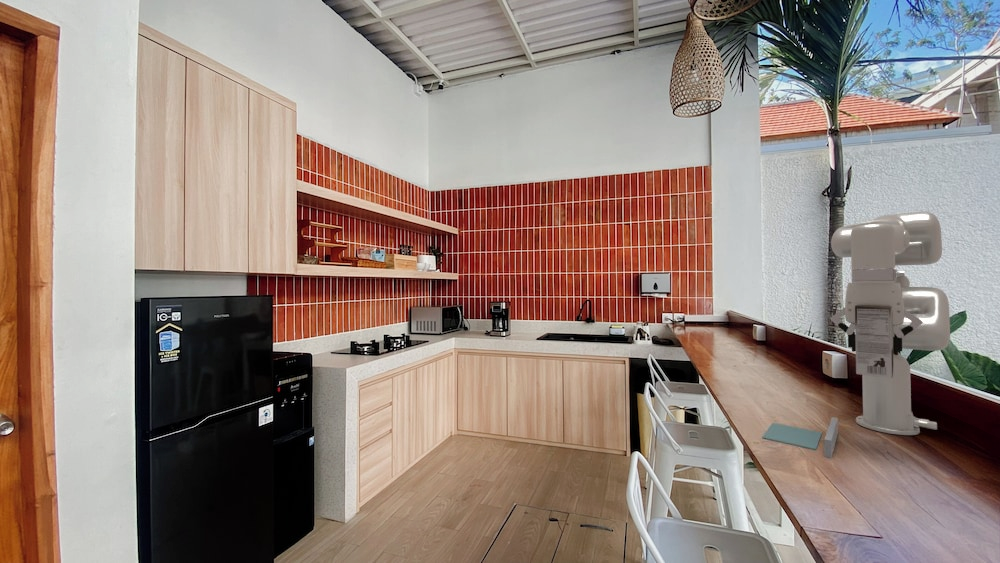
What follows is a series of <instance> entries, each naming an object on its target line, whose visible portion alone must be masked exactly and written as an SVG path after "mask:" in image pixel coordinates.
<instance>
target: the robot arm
mask: <svg viewBox="0 0 1000 563" xmlns="http://www.w3.org/2000/svg"><path fill="white" fill-rule="evenodd" d="M941 228H942V227H941V223H940V220H939V219H938V217H937V216H936V215H935V214H934V213H933V212H930V211H914V212H907V213H906V212H905V213H896V214H886V215H880V216H878V217H875V218H873V219H872V220H869V221H868V220H867V221H862V222H859V223H855V224H854V223H853V224H848V225H844V226H841V227H838V228H837V229H836V230H835V231H834V233H833V235H832V237H831V241H830V246H831V251H832V252H833V253H834V255H835V256H837V257H838V258H850V260H851V261H850V262H851V268H850V269H851V282H847V285H846V291H845V301H844V304H845V305H844V308H842V309H841V310H839V311H838V312H836V313H835V314H834V315H832V316H831V317H830V321H831V322H832V323H834V324H835V326H837V327H838V328H840V330H842V331H843V332H844V333H845V334H847V347H848V348H851V352H852V353H853V352H854V353H856V341H855V306H856V305H872V306H890V307H892V314H893V358H894V360H893V361H894V365H893V378H886V377H877V376H869V375H862V376H861V377H862V380H861V381H862V415H858V416H857V417H855V423H856V424H858V425H860V426H861V427H864V428H867V429H869V430H873V431H877V432H880V433H885V434H891V435H898V436H916V435H919V434H920V433H921V431H920V430H921V429H920V428H924V429H925V428H926V429H929V430H930V429H931V430H938V423H937V421H932V420H931V421H930V419H926V418H918V417H916V416H914V414H913V411H912V398H911V396H912V393H911V392H912V391H911V390H912V388H911V385H912V384H911V383H912V382H911V365H910V364H909V362H908V360H907V359H906V358H905V357H904V356H903V355H902V354H901V353H900V352H903V349H904V350H905V349H906V350H915V351H916V350H918V351H929V352H933V351H934V352H935V351H936V352H937V351H942V350H945V349H946V348H947V347H948V345H949V343H950V341H951V340H950V339H951V321H950V320H951V319H950V304H949V299H948V296H947V294H946V293H945V292H944V291H943V290H942V289H940V288H938V287H933V286H932V287H931V286H911V285H910V280H909V278H908V277H907V276H906V275H905V271H903V270H901V271H900V270H898V269H896V266H922V265H923V266H924V265H933V264H935V263H937V262H938V261H939V260H941V258H942V254H943V242H942V240H943V239H942V229H941ZM843 316H844V317H845V318H844V319H845V322H847V323H849V326H848V325H847V324H846V323H844V322H843V321H842V320H841V318H842V317H843Z"/></svg>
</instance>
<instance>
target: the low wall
mask: <svg viewBox="0 0 1000 563" xmlns="http://www.w3.org/2000/svg"><path fill="white" fill-rule="evenodd" d="M838 434H839V420H838V417H831V419H830V422H829V425H828V427H827V431H826V433H825V437H824V457H825V458H830V459H832V457H833V454H834V450H835V447H836V446H835V445H836V443H837V439H838Z"/></svg>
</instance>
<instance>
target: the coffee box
mask: <svg viewBox="0 0 1000 563" xmlns="http://www.w3.org/2000/svg"><path fill="white" fill-rule="evenodd" d="M854 332H855V341H856V351H855V373H856V375H860V376H861V375H869V376H877V377H886V378H893V365H894V361H893V360H894V358H893V314H892V307H890V306H872V305H856V306H855V330H854Z"/></svg>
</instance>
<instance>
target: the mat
mask: <svg viewBox="0 0 1000 563" xmlns="http://www.w3.org/2000/svg"><path fill="white" fill-rule="evenodd" d="M822 434H823V432H822V431H816V430H811V429H807V428H800V427H797V426H792V425H786V424H782V423H776V422H772V423H771V424H770V426H769V427H768V428H767V429H766V431H765V432H764V433H763V435H762V437H761V439H763V438H766V439H765V440H768V439H769V440H768V441H772V440H774V441H773V442H777V441H778V442H777V443H783V444H787V445H791V446H796V447H801V448H803V449H804V448H805V449H810V450H814V451H816V450H817V448H818V445H819V442H820V441H821V437H822Z"/></svg>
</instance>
